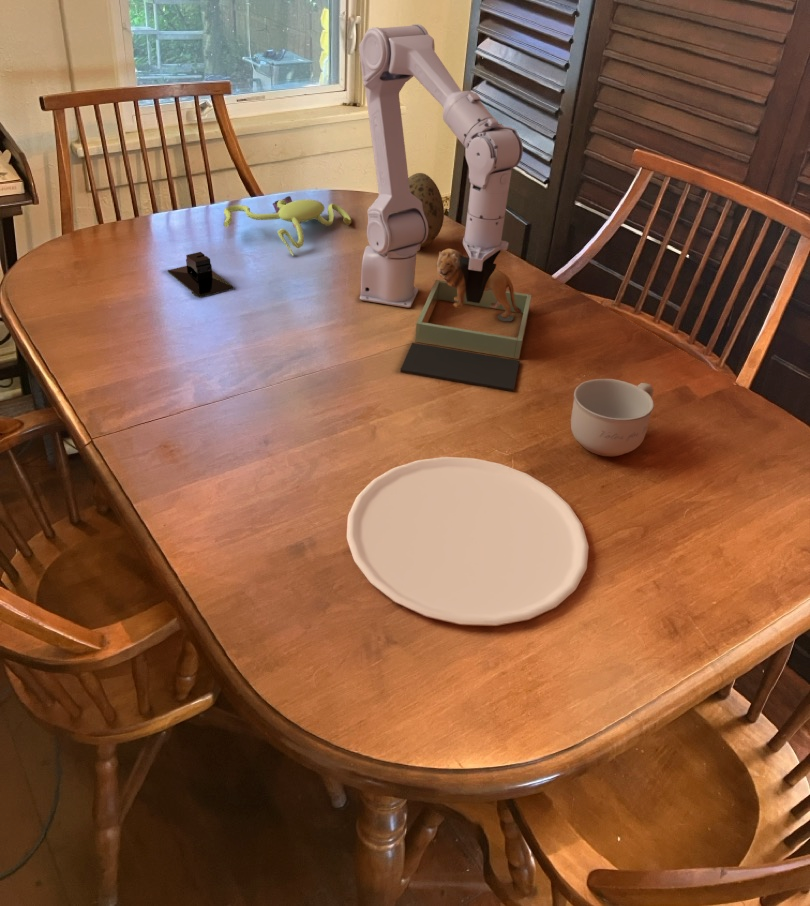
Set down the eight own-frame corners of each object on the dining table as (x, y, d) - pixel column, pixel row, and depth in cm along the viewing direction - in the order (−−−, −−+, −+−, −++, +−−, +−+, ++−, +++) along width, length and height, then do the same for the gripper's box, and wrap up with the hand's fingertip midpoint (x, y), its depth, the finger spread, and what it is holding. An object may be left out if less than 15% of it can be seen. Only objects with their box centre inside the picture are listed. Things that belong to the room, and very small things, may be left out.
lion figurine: (429, 306, 129) (436, 252, 124) (434, 294, 134) (441, 242, 129) (520, 321, 128) (530, 267, 123) (522, 308, 132) (532, 256, 127)
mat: (400, 372, 126) (400, 369, 126) (412, 345, 133) (412, 342, 133) (513, 391, 124) (513, 389, 124) (519, 363, 131) (519, 360, 131)
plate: (404, 663, 82) (405, 655, 81) (313, 488, 102) (313, 481, 102) (636, 590, 92) (639, 583, 91) (511, 445, 113) (512, 438, 112)
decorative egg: (430, 260, 161) (437, 186, 152) (380, 250, 164) (384, 176, 154) (447, 242, 169) (454, 170, 160) (400, 232, 172) (404, 161, 163)
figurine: (211, 237, 163) (209, 210, 159) (292, 201, 181) (291, 177, 178) (283, 262, 156) (283, 234, 152) (360, 222, 174) (361, 197, 171)
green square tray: (414, 341, 134) (416, 323, 132) (434, 297, 148) (435, 279, 146) (518, 359, 132) (522, 340, 130) (528, 312, 146) (531, 294, 144)
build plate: (234, 289, 145) (232, 265, 143) (197, 299, 142) (195, 274, 139) (201, 263, 153) (199, 240, 150) (165, 272, 149) (163, 248, 146)
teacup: (595, 474, 109) (608, 426, 104) (549, 430, 116) (559, 384, 111) (672, 450, 114) (688, 403, 110) (623, 410, 122) (636, 365, 117)
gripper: (507, 233, 115) (494, 318, 124) (517, 200, 127) (504, 279, 135) (459, 227, 116) (449, 311, 125) (473, 194, 128) (463, 273, 136)
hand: (475, 294), depth 130 cm, fingers closed on lion figurine, 4 cm apart
